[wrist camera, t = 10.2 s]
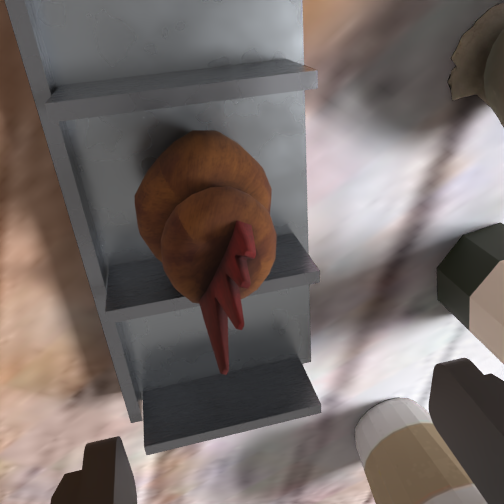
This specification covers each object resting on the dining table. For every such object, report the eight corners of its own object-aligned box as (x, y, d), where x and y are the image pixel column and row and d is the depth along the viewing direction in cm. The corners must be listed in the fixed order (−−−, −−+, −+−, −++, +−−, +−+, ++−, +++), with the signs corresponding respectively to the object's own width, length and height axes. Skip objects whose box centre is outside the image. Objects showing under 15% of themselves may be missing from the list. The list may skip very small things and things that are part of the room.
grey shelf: (289, -198, 22) (341, -263, 16) (306, 351, 38) (334, 409, 32) (-35, -189, 19) (-97, -260, 14) (131, 390, 36) (131, 459, 30)
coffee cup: (321, 471, 46) (396, 656, 33) (347, 383, 41) (447, 561, 28) (422, 460, 49) (527, 625, 36) (458, 376, 44) (596, 533, 31)
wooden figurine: (190, 242, 30) (236, 428, 17) (116, 184, 27) (102, 355, 14) (266, 165, 28) (379, 303, 15) (196, 96, 25) (264, 195, 13)
